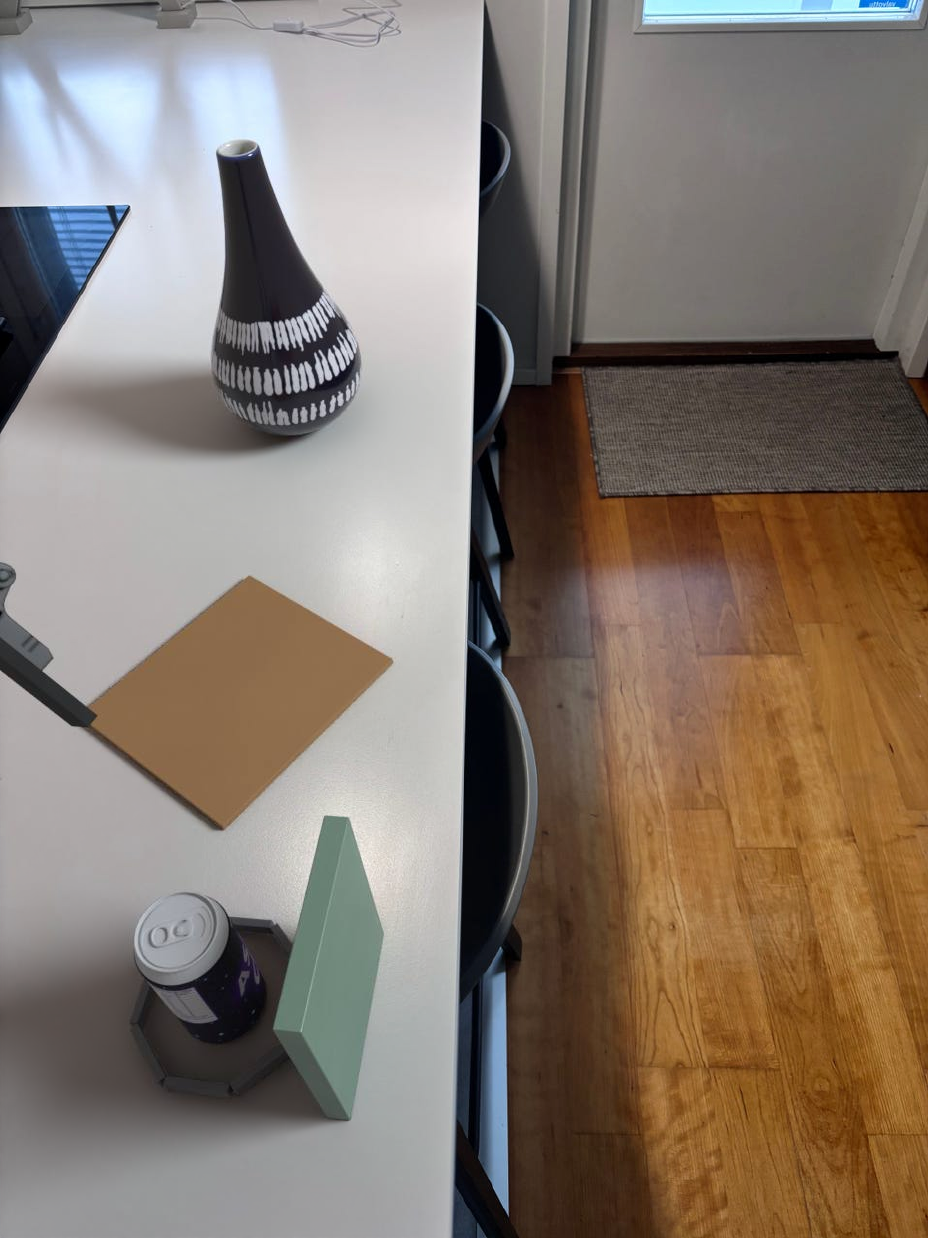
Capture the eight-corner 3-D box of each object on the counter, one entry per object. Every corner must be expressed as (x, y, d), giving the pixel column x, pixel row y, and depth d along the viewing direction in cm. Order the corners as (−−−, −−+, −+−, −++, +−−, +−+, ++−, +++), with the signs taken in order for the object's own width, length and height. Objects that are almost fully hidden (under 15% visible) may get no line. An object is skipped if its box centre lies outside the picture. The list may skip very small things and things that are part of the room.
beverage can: (275, 1033, 62) (230, 961, 53) (189, 1061, 61) (129, 992, 52) (263, 952, 66) (219, 872, 57) (181, 977, 65) (123, 900, 56)
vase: (205, 452, 104) (114, 181, 82) (263, 370, 114) (197, 108, 92) (340, 471, 100) (284, 192, 78) (388, 384, 110) (350, 115, 88)
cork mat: (224, 830, 72) (222, 826, 72) (80, 719, 80) (77, 715, 80) (393, 663, 82) (392, 658, 82) (250, 579, 90) (249, 574, 90)
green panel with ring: (115, 1093, 60) (9, 1002, 48) (174, 914, 68) (96, 797, 56) (350, 1121, 58) (301, 1033, 46) (384, 933, 66) (349, 816, 54)
